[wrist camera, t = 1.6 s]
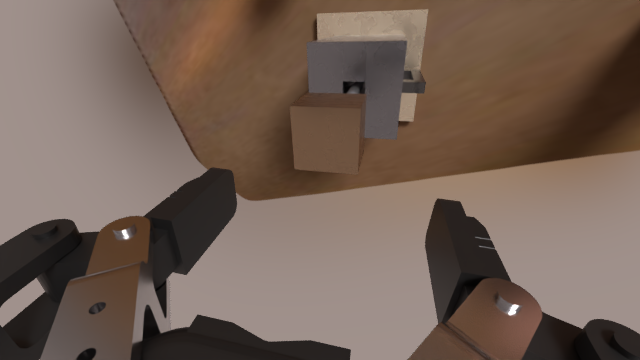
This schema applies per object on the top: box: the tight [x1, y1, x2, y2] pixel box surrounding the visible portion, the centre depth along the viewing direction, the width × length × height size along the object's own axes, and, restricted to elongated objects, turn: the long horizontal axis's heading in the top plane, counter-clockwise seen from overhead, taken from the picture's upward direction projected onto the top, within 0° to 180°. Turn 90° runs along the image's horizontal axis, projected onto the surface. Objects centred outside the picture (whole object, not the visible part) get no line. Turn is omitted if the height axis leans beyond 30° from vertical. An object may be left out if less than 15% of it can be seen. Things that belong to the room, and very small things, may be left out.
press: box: [307, 9, 428, 140], centre depth 38 cm, size 16×16×18 cm
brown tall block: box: [290, 81, 367, 175], centre depth 27 cm, size 7×7×21 cm
